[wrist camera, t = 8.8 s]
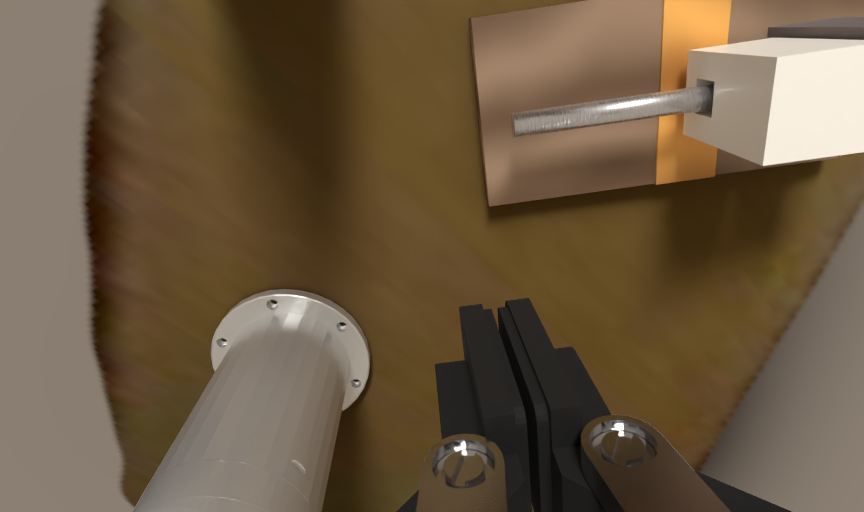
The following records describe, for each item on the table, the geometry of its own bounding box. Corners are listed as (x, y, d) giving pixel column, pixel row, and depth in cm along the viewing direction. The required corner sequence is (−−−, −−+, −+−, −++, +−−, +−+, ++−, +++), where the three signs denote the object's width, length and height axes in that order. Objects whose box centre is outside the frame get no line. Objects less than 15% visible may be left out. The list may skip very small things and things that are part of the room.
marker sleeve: (762, 122, 32) (867, 151, 25) (682, 134, 32) (762, 165, 25) (773, 37, 30) (891, 40, 23) (688, 50, 30) (777, 57, 23)
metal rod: (789, 95, 30) (806, 98, 29) (511, 135, 30) (516, 139, 29) (793, 70, 29) (810, 72, 28) (510, 111, 30) (514, 115, 29)
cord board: (823, 153, 36) (841, 159, 34) (486, 200, 37) (489, 207, 35) (859, -42, 31) (881, -46, 29) (468, 17, 32) (471, 17, 30)
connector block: (817, 117, 33) (929, 142, 26) (755, 126, 33) (850, 153, 26) (834, 17, 31) (964, 13, 24) (768, 27, 31) (875, 27, 24)
